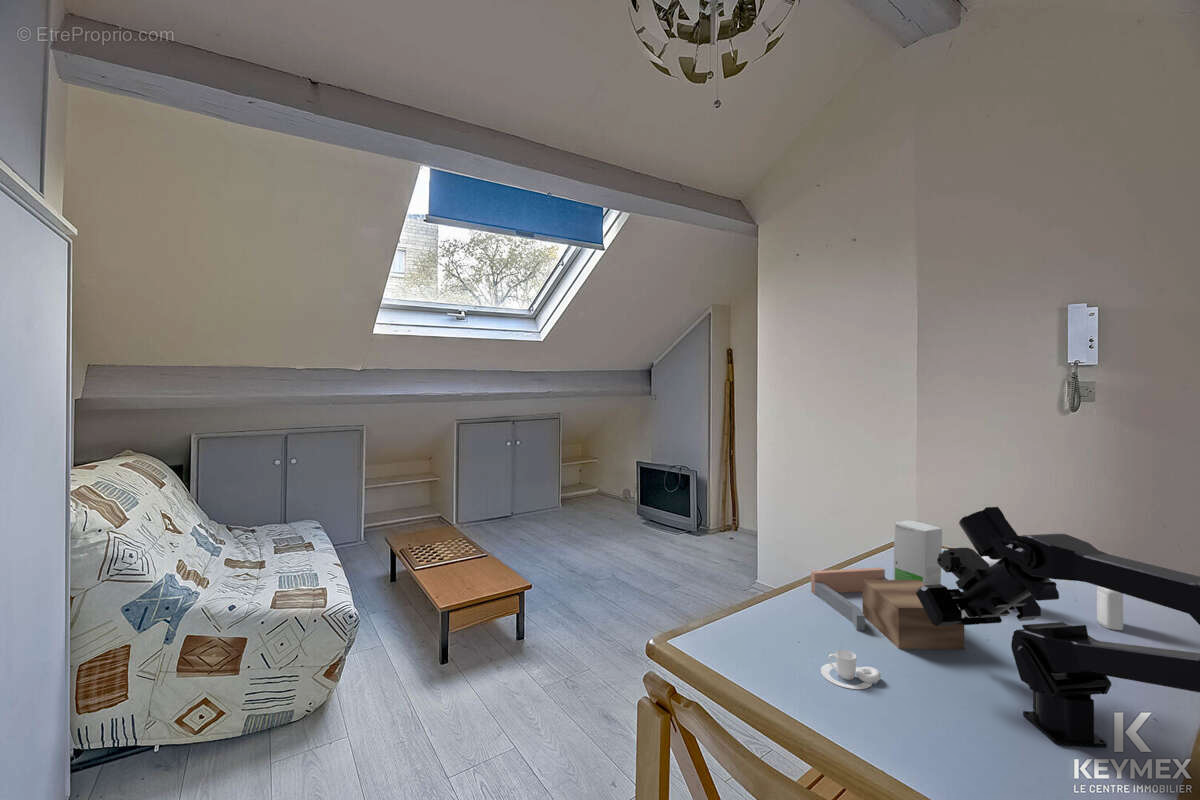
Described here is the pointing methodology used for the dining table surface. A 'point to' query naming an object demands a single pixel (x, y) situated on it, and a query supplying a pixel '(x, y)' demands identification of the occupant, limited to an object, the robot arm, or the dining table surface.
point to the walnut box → (906, 616)
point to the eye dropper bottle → (1110, 608)
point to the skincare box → (917, 552)
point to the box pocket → (844, 589)
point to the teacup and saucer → (850, 670)
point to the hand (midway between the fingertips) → (950, 621)
